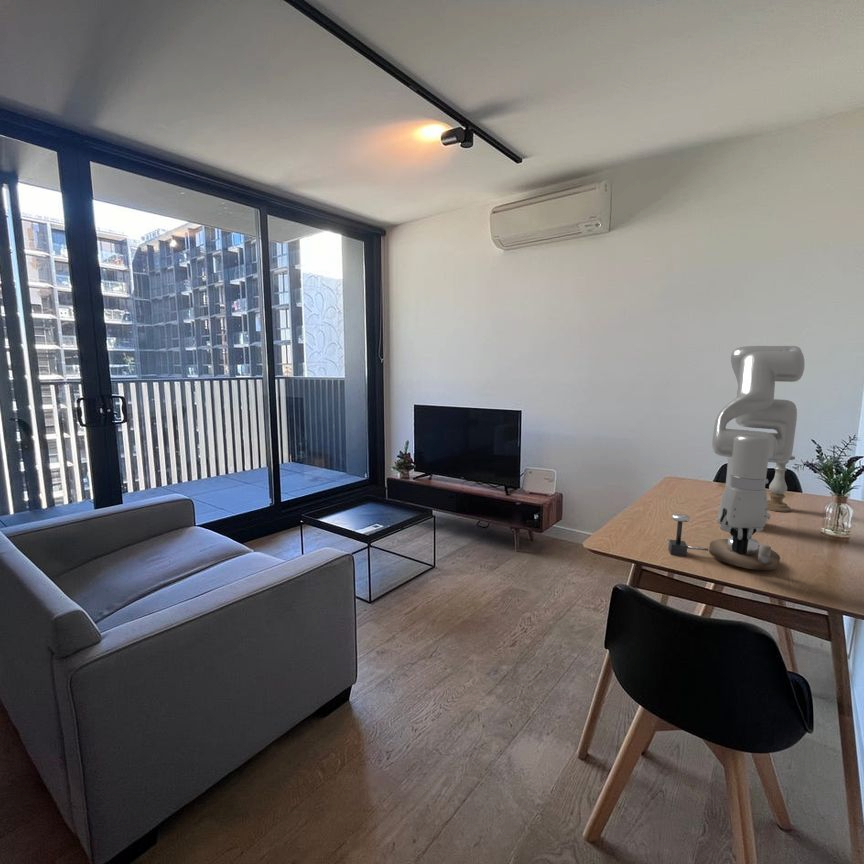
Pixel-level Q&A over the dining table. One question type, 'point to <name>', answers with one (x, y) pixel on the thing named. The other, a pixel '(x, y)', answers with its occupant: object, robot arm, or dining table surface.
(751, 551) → the lid
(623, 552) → the dining table surface
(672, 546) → the lever with ball knob
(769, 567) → the turntable
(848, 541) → the dining table surface
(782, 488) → the candle holder
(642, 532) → the dining table surface
